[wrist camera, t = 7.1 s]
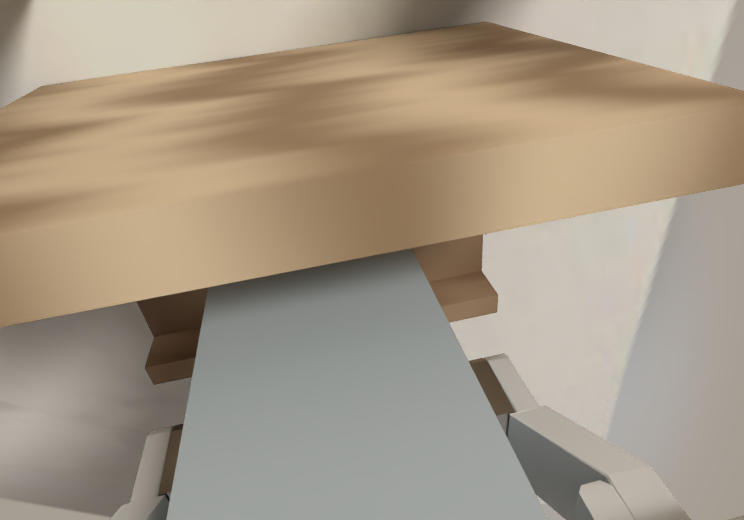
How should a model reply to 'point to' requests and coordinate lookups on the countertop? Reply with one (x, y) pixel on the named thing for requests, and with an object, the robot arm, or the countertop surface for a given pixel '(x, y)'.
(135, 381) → the countertop surface
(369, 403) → the cabinet box
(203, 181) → the wall board
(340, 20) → the countertop surface
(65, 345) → the countertop surface
